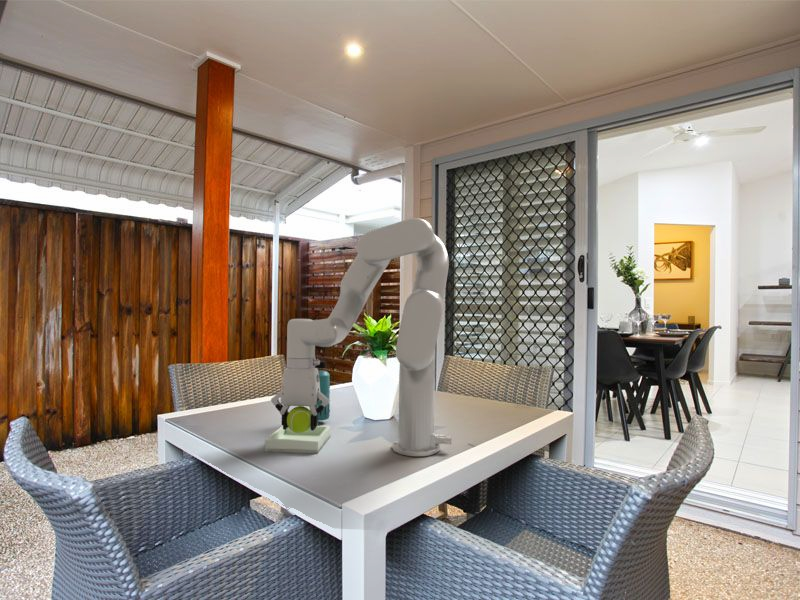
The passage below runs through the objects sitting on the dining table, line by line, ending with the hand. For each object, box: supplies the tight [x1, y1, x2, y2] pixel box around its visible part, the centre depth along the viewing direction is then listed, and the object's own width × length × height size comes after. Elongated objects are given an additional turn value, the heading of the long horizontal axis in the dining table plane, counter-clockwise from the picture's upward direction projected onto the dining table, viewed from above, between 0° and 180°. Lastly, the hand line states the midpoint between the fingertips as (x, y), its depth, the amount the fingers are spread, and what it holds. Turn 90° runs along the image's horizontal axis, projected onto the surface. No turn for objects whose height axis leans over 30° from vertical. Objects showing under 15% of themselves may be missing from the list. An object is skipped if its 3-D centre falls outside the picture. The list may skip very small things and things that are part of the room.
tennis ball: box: [287, 406, 312, 433], centre depth 118 cm, size 7×7×7 cm
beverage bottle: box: [309, 360, 331, 422], centre depth 139 cm, size 6×7×20 cm
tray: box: [264, 425, 332, 454], centre depth 118 cm, size 14×14×3 cm
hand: (299, 428), depth 118 cm, fingers closed on tennis ball, 7 cm apart
